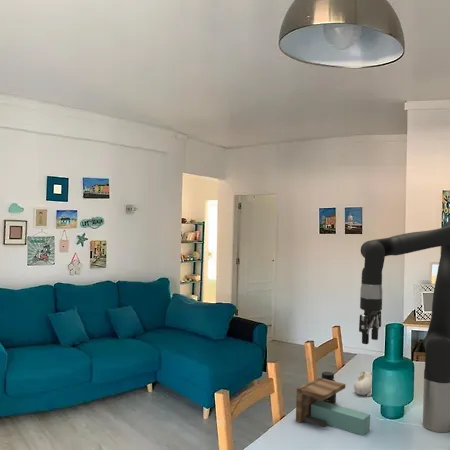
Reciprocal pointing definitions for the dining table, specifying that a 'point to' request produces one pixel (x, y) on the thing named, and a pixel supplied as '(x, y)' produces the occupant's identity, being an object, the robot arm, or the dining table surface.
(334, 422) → the pale green long block
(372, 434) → the dining table surface
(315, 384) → the wall shelf
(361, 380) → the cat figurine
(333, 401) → the supplement bottle
